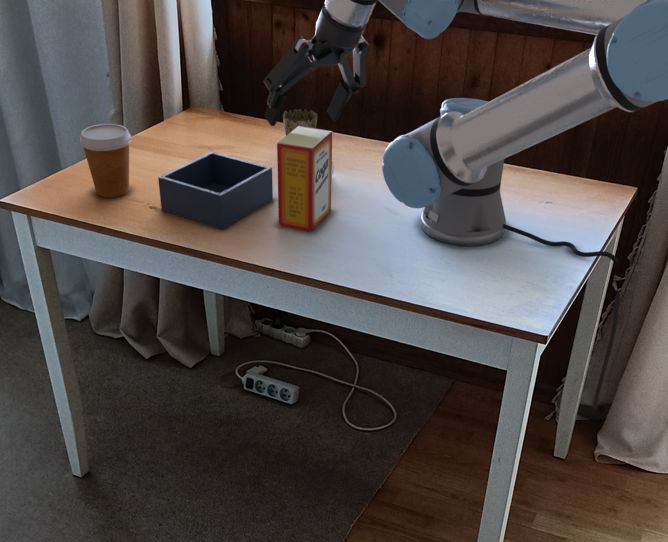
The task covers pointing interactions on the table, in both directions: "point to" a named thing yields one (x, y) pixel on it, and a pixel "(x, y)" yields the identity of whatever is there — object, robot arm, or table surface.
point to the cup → (299, 120)
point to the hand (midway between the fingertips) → (301, 118)
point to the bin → (216, 189)
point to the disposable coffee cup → (108, 158)
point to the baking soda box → (304, 178)
